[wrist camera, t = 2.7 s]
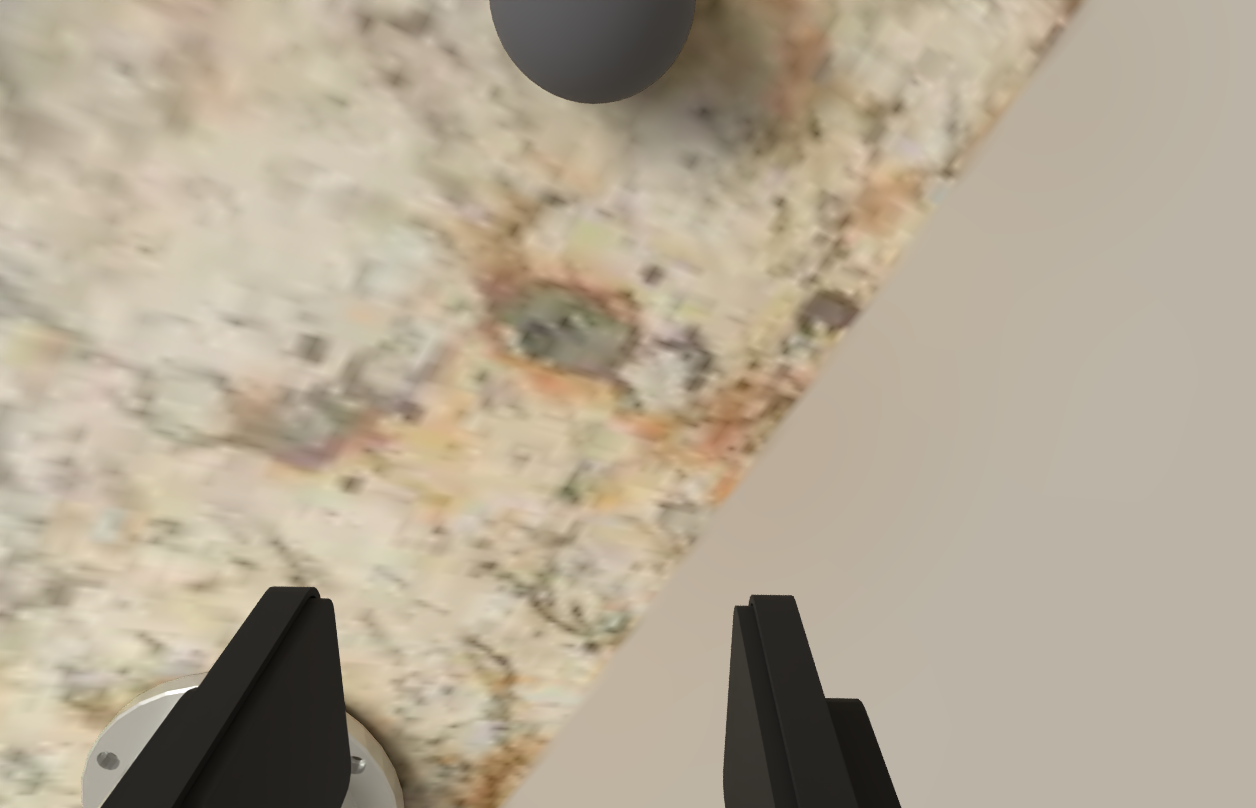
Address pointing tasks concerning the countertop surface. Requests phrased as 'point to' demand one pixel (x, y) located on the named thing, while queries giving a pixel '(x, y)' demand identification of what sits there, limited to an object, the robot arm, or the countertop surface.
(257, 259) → the countertop surface
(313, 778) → the robot arm
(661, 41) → the dark gray ball
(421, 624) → the countertop surface
